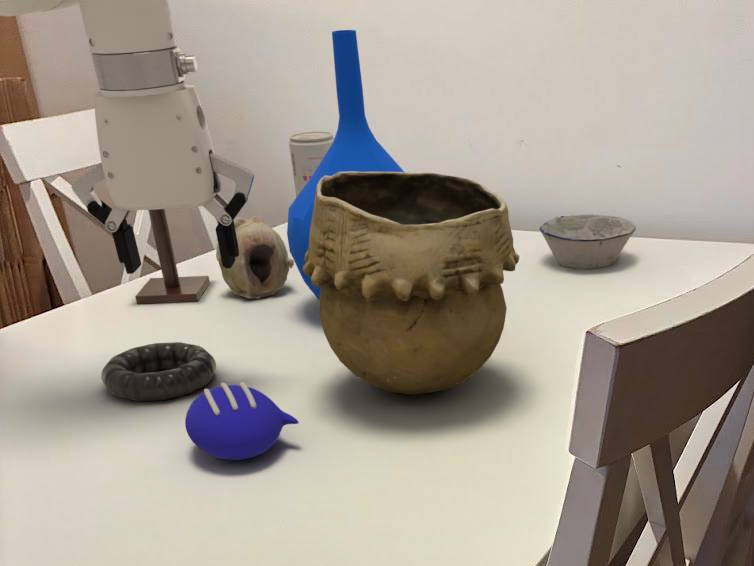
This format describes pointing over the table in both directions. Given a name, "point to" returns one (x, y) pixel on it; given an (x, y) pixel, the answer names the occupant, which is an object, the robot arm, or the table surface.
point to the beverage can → (307, 155)
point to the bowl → (587, 239)
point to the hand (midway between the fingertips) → (182, 267)
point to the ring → (134, 383)
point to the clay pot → (410, 275)
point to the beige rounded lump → (256, 260)
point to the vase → (339, 147)
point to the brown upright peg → (169, 271)
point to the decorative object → (235, 422)
